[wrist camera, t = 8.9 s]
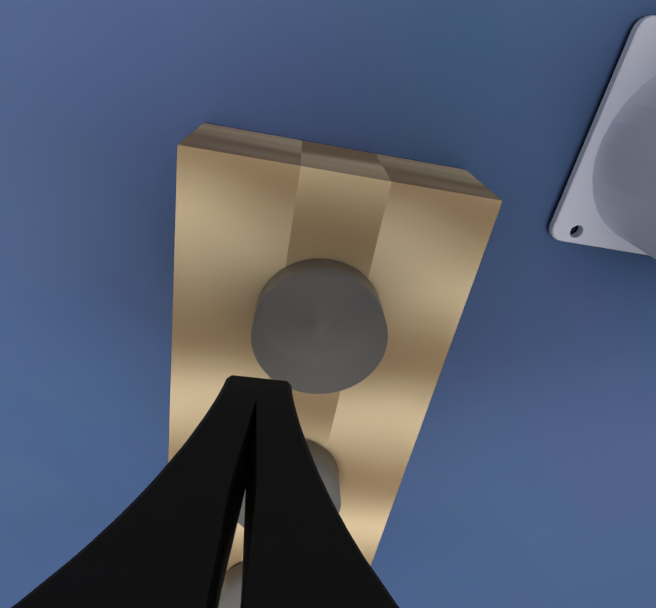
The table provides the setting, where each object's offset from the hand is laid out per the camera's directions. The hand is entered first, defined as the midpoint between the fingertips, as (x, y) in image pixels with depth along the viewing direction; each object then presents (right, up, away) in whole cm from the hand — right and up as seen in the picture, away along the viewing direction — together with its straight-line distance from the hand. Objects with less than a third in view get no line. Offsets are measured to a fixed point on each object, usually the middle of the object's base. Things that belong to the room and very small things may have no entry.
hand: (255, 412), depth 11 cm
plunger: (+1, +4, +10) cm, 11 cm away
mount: (0, -3, +13) cm, 14 cm away
